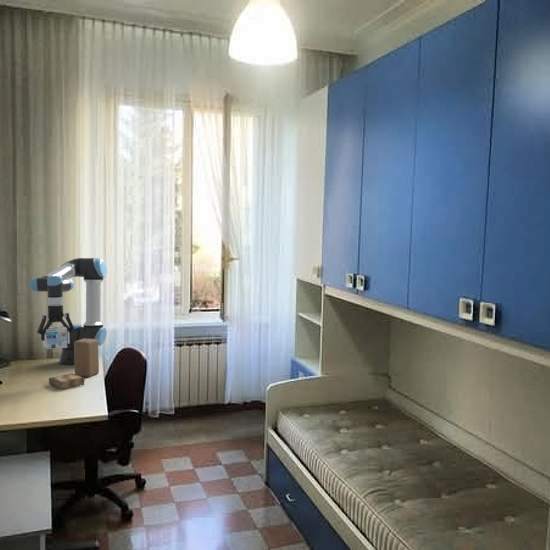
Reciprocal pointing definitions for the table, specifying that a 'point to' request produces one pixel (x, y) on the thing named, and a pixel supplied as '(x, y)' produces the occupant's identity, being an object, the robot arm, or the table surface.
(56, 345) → the light bulb box
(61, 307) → the robot arm
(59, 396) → the table surface
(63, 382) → the brown open tray
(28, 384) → the table surface
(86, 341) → the wooden block
